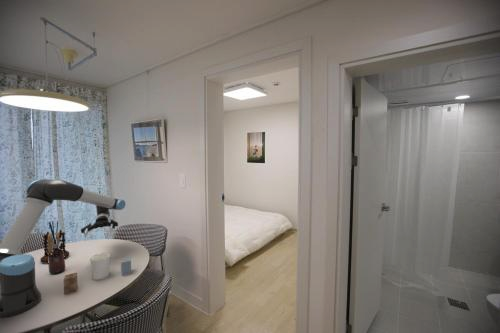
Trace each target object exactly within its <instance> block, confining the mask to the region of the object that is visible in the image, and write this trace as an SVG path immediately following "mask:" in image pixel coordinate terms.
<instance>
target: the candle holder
mask: <svg viewBox="0 0 500 333" xmlns="http://www.w3.org/2000/svg"><path fill="white" fill-rule="evenodd" d="M110 260H111V254H110V253H109V252H102V253H96V254H94V255H92V256H91V257H90V258H89V262H90V267H91V268H90V269H91V270H90V271H91V278H92V279H93V280H95V281H97V280H102V279H105V278H107V277H108V276H109V275H110V264H111V263H110V262H111V261H110Z"/></svg>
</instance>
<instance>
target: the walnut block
mask: <svg viewBox="0 0 500 333" xmlns="http://www.w3.org/2000/svg"><path fill="white" fill-rule="evenodd" d="M77 291H78V272H73V273H69V274H65V275H64V277H63V295H68V294H71V293H75V292H77Z"/></svg>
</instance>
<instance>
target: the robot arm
mask: <svg viewBox="0 0 500 333" xmlns="http://www.w3.org/2000/svg"><path fill="white" fill-rule="evenodd" d="M25 192H26V197H25V201H26V203H25V205H24V206H23V208H22V209H21V210H20V212H19V214H18V215H17V216H16V219H14V221H13V223H12V225H11V226H10V228H9V229H8V231H7V232H6V234H5V235H4V237H3V239H2V241H1V242H0V318H7V317H8V318H9V317H12V316H16V315H19V314H22V313H23V312H27V311H28V310H30V309H33V308H34V307H36V306H37V305H38V304H40V302H41V300H42V293H41V291H40V290H39V288H38V287H37V285H36V284H37V283H36V261H35V257H34V256H33V255H31V254H28V253H26V254H24V253H23V254H22V252H21V250H22V249H23V247H24V246H25V244H26V241H27V240H28V238H29V237H30V235H31V233H32V231H34V228H35V227H36V225H37V224H38V222H39V220H40V219H41V216H42V215H43V213H44V212H45V209H47V207H49V206H51V205H52V204H53V203H54V201H67V202H68V201H69V202H74V203H75V202H82V203H85V204H88V205H89V204H90V205H94V206H95V207H96V208H95V209H96V215H97V216H96V219H95V222H94V223H88V224H87V225H86V226H83V227H82V228H80V233H81V234H83V235H84V237H85V238H86V237H88V234H89V232H91V231H93V230H95V229H98V228H106V227H109V228H110V232H113V229H115V227H119V222H118V221H116V220H113V219H110V216H111V214H110V213H111V212H110V210H113V211H114V210H116V211H122V210H123V209H125V207H126V206H127V205H126V201H125V200H124V199H119V198H114V197H112V196H108V195H106V194H105V195H104V194H101V193H98V192H95V191H91V190H88V189H85V188H84V187H83V186H82V185H78V184H76V183H75V184H74V183H72V182H69V181H67V180H63V179H62V180H61V179H48V178H42V179H35V180H34V181H32V182H30V183H29V184H28V185H27V186H26V189H25ZM109 219H110V220H109Z"/></svg>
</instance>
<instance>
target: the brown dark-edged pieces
mask: <svg viewBox="0 0 500 333" xmlns="http://www.w3.org/2000/svg"><path fill="white" fill-rule="evenodd" d="M54 233H55V235H56V239H57V243H58V244H59V248H60V249H62V250H63V251H64V256H65V258H67V257H69V255H70V251H68V250H66V237H65V234H66V232H64V231H62V229H60V230H59V232H54ZM42 237H43V243H42V244H43V246H44V247H43V251H44V255H43V256H42V257H40V262H41V263H42V264H43V265H45V263H49V262H48V254H49V253H50V252H51V251H52V250H53V248H52V246H53V244H54V241H53V237H52V233H50V232H49V231H47V232H46V234H44V235H43V236H42Z"/></svg>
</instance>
